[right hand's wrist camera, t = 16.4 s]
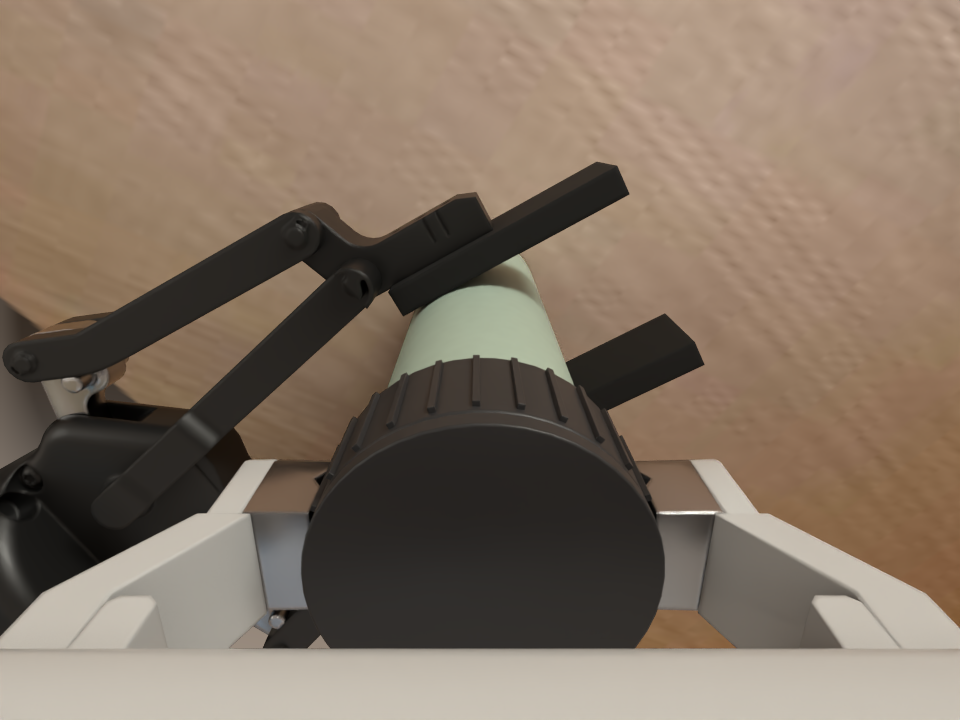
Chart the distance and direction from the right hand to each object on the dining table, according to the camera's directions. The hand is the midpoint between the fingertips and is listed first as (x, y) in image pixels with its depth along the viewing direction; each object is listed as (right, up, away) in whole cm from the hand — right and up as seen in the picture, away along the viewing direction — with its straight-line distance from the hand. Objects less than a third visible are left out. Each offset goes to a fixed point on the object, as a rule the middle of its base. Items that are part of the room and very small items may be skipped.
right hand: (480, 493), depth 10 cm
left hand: (+5, +5, +6) cm, 9 cm away
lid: (0, -1, -2) cm, 2 cm away
